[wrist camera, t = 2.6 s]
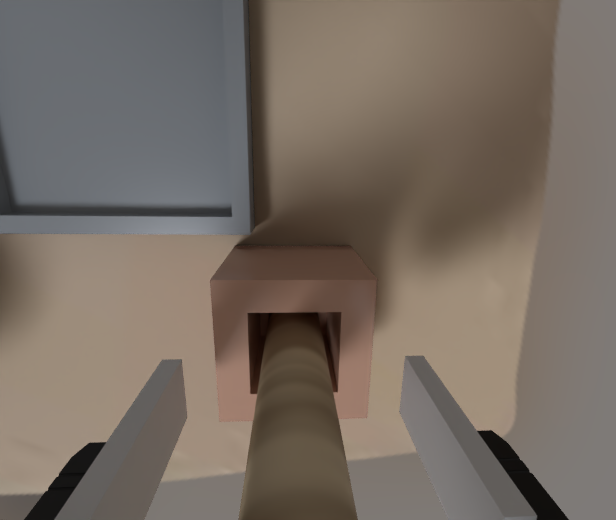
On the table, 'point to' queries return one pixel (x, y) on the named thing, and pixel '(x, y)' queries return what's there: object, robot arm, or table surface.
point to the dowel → (296, 430)
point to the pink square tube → (292, 298)
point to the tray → (125, 117)
